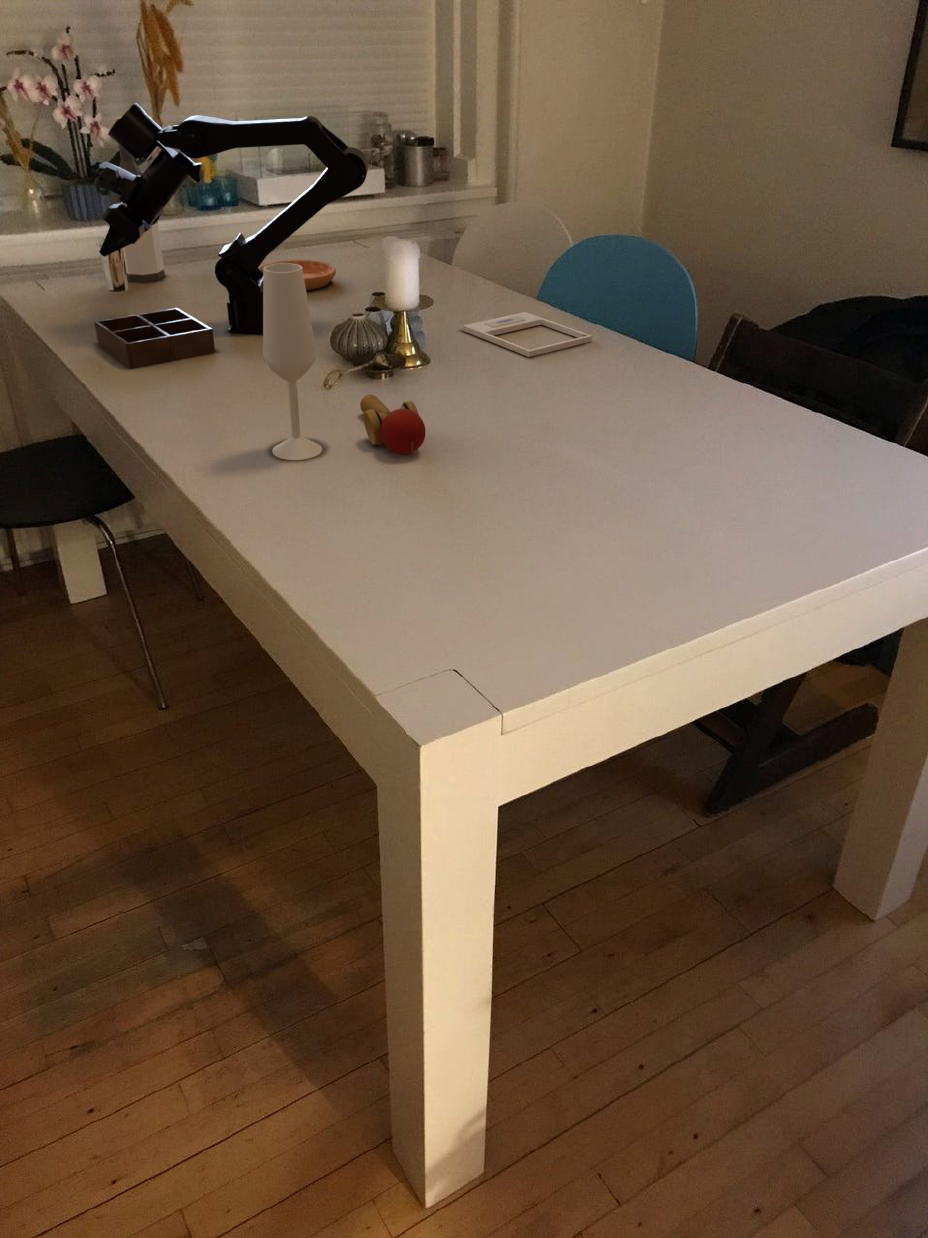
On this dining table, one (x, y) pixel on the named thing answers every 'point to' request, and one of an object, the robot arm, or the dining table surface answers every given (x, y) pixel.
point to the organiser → (154, 337)
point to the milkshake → (114, 268)
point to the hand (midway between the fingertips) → (105, 250)
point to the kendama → (393, 425)
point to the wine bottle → (141, 239)
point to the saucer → (312, 272)
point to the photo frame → (519, 322)
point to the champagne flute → (288, 345)
